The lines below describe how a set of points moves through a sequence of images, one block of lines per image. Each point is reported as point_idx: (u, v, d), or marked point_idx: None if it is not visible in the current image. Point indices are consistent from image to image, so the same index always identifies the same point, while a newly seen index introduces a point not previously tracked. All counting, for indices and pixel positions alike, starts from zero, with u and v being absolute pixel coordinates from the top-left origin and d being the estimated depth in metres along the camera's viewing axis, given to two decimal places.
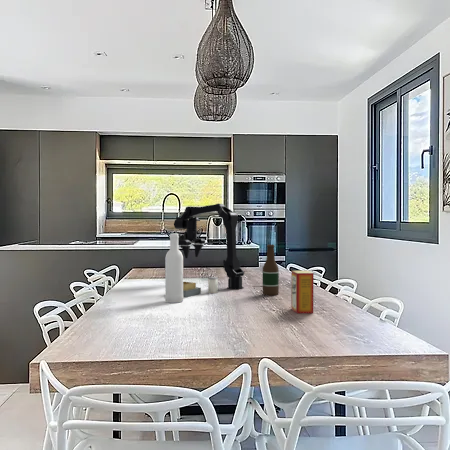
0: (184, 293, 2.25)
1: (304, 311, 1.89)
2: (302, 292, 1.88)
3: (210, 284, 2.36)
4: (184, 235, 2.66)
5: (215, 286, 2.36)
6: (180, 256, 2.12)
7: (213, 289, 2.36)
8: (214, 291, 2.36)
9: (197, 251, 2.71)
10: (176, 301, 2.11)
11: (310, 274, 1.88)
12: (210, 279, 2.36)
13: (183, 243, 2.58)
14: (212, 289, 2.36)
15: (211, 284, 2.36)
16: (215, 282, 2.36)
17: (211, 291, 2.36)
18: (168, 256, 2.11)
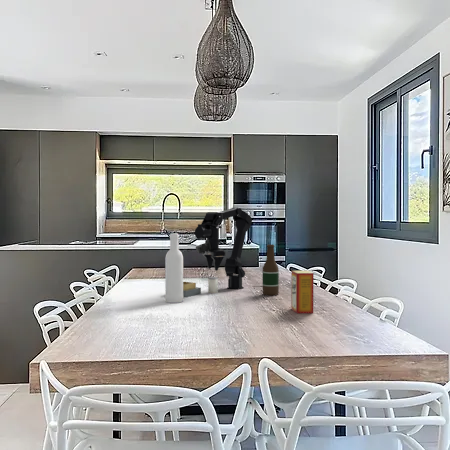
0: (184, 293, 2.25)
1: (304, 311, 1.89)
2: (302, 292, 1.88)
3: (210, 284, 2.36)
4: (209, 245, 2.34)
5: (215, 286, 2.36)
6: (180, 256, 2.12)
7: (213, 289, 2.36)
8: (214, 291, 2.36)
9: (210, 262, 2.42)
10: (176, 301, 2.11)
11: (310, 274, 1.88)
12: (210, 279, 2.36)
13: (223, 253, 2.30)
14: (212, 289, 2.36)
15: (211, 284, 2.36)
16: (215, 282, 2.36)
17: (211, 291, 2.36)
18: (168, 256, 2.11)
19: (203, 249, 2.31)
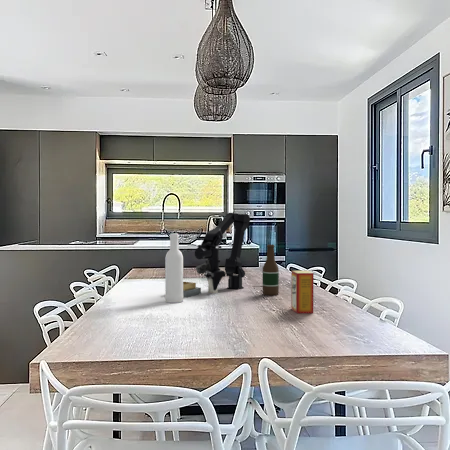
0: (184, 293, 2.25)
1: (304, 311, 1.89)
2: (302, 292, 1.88)
3: (210, 284, 2.36)
4: (209, 265, 2.34)
5: None
6: (180, 256, 2.12)
7: None
8: (214, 291, 2.36)
9: None
10: (176, 301, 2.11)
11: (310, 274, 1.88)
12: (210, 279, 2.36)
13: (223, 274, 2.30)
14: (212, 289, 2.36)
15: (211, 284, 2.36)
16: None
17: (211, 291, 2.36)
18: (168, 256, 2.11)
19: (203, 270, 2.32)
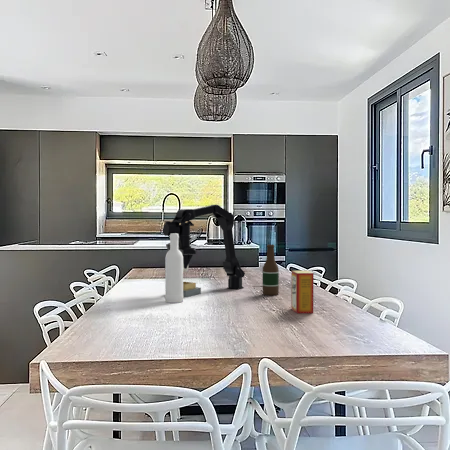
0: (184, 293, 2.25)
1: (304, 311, 1.89)
2: (302, 292, 1.88)
3: None
4: (180, 242, 2.29)
5: None
6: (180, 256, 2.12)
7: None
8: (185, 269, 2.30)
9: None
10: (176, 301, 2.11)
11: (310, 274, 1.88)
12: None
13: (193, 251, 2.24)
14: None
15: None
16: None
17: None
18: (168, 256, 2.11)
19: None
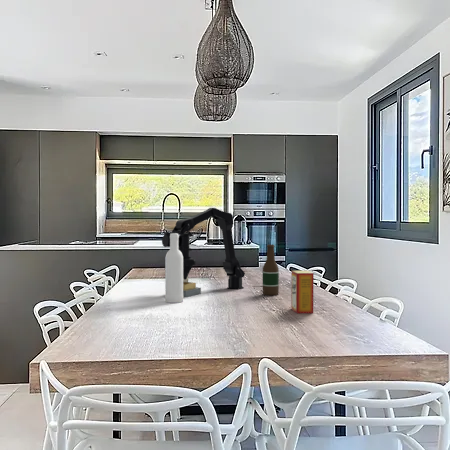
0: (184, 293, 2.25)
1: (304, 311, 1.89)
2: (302, 292, 1.88)
3: None
4: None
5: None
6: (180, 256, 2.12)
7: (183, 278, 2.31)
8: (184, 280, 2.31)
9: None
10: (176, 301, 2.11)
11: (310, 274, 1.88)
12: None
13: (192, 263, 2.25)
14: None
15: None
16: None
17: None
18: (168, 256, 2.11)
19: None
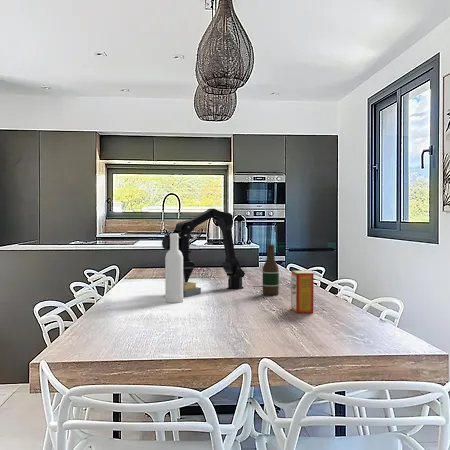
0: (184, 293, 2.25)
1: (304, 311, 1.89)
2: (301, 292, 1.88)
3: None
4: None
5: None
6: (180, 256, 2.12)
7: None
8: None
9: None
10: (176, 301, 2.11)
11: (310, 274, 1.88)
12: None
13: (192, 265, 2.25)
14: None
15: None
16: None
17: None
18: (168, 256, 2.11)
19: None
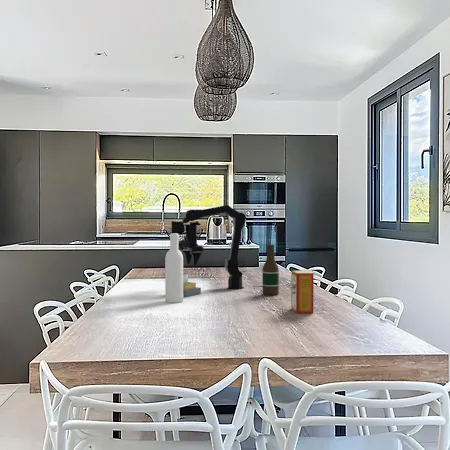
0: (184, 293, 2.25)
1: (304, 311, 1.89)
2: (301, 292, 1.88)
3: None
4: (188, 241, 2.44)
5: (185, 281, 2.31)
6: (180, 256, 2.12)
7: None
8: None
9: (189, 257, 2.52)
10: (176, 301, 2.11)
11: (310, 274, 1.88)
12: None
13: (201, 249, 2.40)
14: None
15: None
16: (185, 277, 2.31)
17: None
18: (168, 256, 2.11)
19: (182, 245, 2.41)
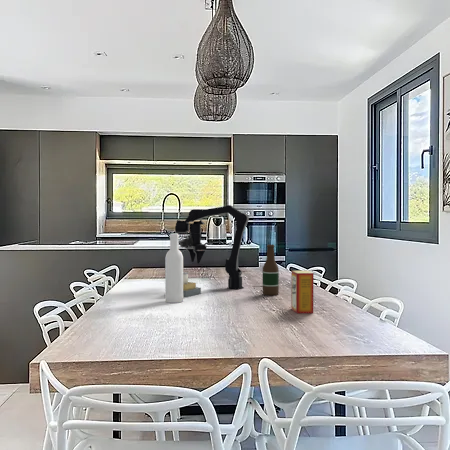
0: (184, 293, 2.25)
1: (304, 311, 1.89)
2: (302, 292, 1.88)
3: None
4: (191, 239, 2.52)
5: (185, 281, 2.31)
6: (180, 256, 2.12)
7: None
8: None
9: (193, 256, 2.60)
10: (176, 301, 2.11)
11: (310, 274, 1.88)
12: None
13: (204, 248, 2.48)
14: None
15: None
16: (185, 277, 2.31)
17: None
18: (168, 256, 2.11)
19: (186, 243, 2.49)
